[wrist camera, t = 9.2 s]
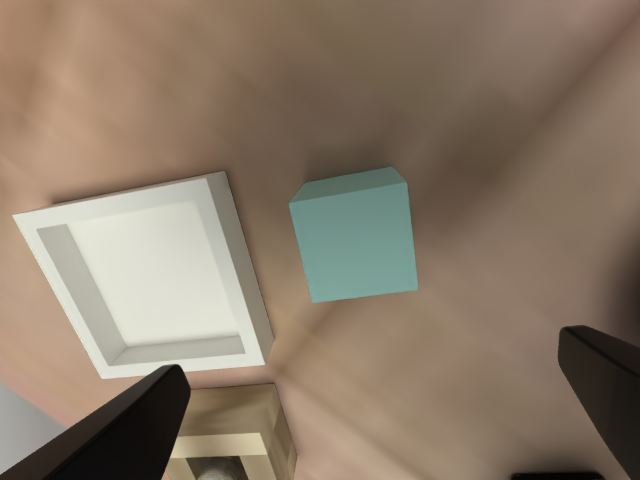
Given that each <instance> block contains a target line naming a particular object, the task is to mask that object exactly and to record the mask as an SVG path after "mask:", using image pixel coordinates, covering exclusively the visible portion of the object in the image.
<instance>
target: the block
mask: <svg viewBox="0 0 640 480" xmlns="http://www.w3.org/2000/svg"><path fill="white" fill-rule="evenodd" d="M288 205H289V209H290V213H291V217H292V221H293V225H294V229H295V233H296V238H297V242H298V246H299V250H300V254H301V258H302V262H303V267H304V271H305V275H306V279H307V283H308V287H309V291H310V295H311V300H312V303H316V302H325V301H333V300H341V299H349V298H357V297H365V296H373V295H381V294H390V293H398V292H406V291H414V290H419V289H418V280H417V270H416V261H415V252H414V243H413V234H412V224H411V215H410V206H409V197H408V187H407V182H406V181H405V179H404V178H403V177H402V176H401V175H400V174H399V173H398V172H397V171H396V170H395V168H394V167H393V166H391V167H386V168H380V169H375V170H370V171H365V172H359V173H354V174H349V175H343V176H338V177H333V178H328V179H322V180H317V181H312V182H306V183H304V184H303V186H302V187H301V188H300V189H299V191H298V192H297V193H296V194H295V196H294V197H293V198H292V199H291V201H290V202H289V203H288Z"/></svg>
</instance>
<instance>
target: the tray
mask: <svg viewBox="0 0 640 480" xmlns="http://www.w3.org/2000/svg"><path fill="white" fill-rule="evenodd" d="M12 216H13V218H14V219H15V221H16V223H17V225H18V227H19V229H20V230H21V232H22V234H23V236H24V238H25V240H26V241H27V243H28V245H29V247H30V249H31V251H32V252H33V254H34V256H35V258H36V260H37V261H38V263H39V265H40V267H41V269H42V271H43V272H44V274H45V276H46V278H47V280H48V282H49V283H50V285H51V287H52V289H53V291H54V293H55V294H56V296H57V298H58V300H59V302H60V303H61V305H62V307H63V309H64V311H65V313H66V314H67V316H68V318H69V320H70V322H71V324H72V325H73V327H74V329H75V331H76V333H77V335H78V336H79V338H80V340H81V342H82V344H83V345H84V347H85V349H86V351H87V353H88V355H89V356H90V358H91V360H92V362H93V364H94V366H95V367H96V369H97V371H98V373H99V375H100V377H101V378H102V379H107V378H118V377H130V376H142V375H149V374H150V373H152V372H153V371H155V370H156V369H158V368H159V367H161V366H163V365H168V364H179V365H180V366H181V367H182V369H183V371H184V372H188V371H199V370H211V369H222V368H234V367H245V366H257V365H265V364H266V361H267V358H268V355H269V353H270V350H271V347H272V344H273V341H274V336H273V333H272V330H271V326H270V323H269V319H268V316H267V313H266V309H265V306H264V302H263V299H262V296H261V292H260V289H259V285H258V282H257V279H256V275H255V272H254V268H253V265H252V261H251V258H250V255H249V251H248V248H247V244H246V241H245V238H244V234H243V231H242V227H241V224H240V221H239V217H238V214H237V210H236V207H235V204H234V200H233V197H232V193H231V190H230V187H229V183H228V180H227V176H226V173H225V171H221V172H216V173H211V174H206V175H201V176H195V177H190V178H185V179H180V180H175V181H170V182H165V183H160V184H155V185H149V186H144V187H139V188H134V189H129V190H124V191H119V192H114V193H108V194H103V195H98V196H93V197H88V198H83V199H78V200H73V201H68V202H62V203H57V204H52V205H48V206H45V207H41V208H37V209H34V210H30V211H26V212H23V213H19V214H15V215H12Z"/></svg>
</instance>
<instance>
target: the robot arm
mask: <svg viewBox="0 0 640 480" xmlns="http://www.w3.org/2000/svg"><path fill="white" fill-rule="evenodd" d="M558 362H559V366H560V368H561V370H562V372H563V373H564V375H565V377H566V378H567V380H568V382H569V384H570V385H571V387H572V389H573V390H574V392H575V394H576V395H577V397H578V399H579V400H580V402H581V404H582V406H583V407H584V409H585V411H586V412H587V414H588V416H589V417H590V419H591V421H592V423H593V424H594V426H595V428H596V429H597V431H598V433H599V434H600V436H601V437H602V439H603V441H604V442H605V444H606V445H607V447H608V448H609V449H610V451H611V452H612V454H613V455H614V457H615V458H616V460H617V461H618V462H619V464H620V465H621V466H622V468H623V469H624V471H625V472H626V473H627V475H628V476H629V478H630V479H631V480H640V347H637V346H635V345H632V344H630V343H627V342H625V341H623V340H620V339H618V338H615V337H613V336H610V335H608V334H605V333H603V332H600V331H598V330H595V329H593V328H590V327H588V326H585V325H577V326H566V327H563V328H562V329H561V330H560V333H559V346H558ZM190 396H191V388H190V385H189V383H188V380H187V378H186V376H185V374H184V371H183V369H182V367H181V366H180V365H179V364H168V365H163V366H161V367H159V368H158V369H156V370H155V371H153V372H152V373H150V374H149V375H147V376H146V377H144V378H143V379H141V380H140V381H139V382H137V383H136V384H134V385H133V386H131V387H130V388H128V389H127V390H125V391H124V392H122V393H121V394H119V395H118V396H116V397H115V398H113V399H112V400H110V401H109V402H107V403H106V404H104V405H103V406H101V407H100V408H98V409H97V410H96V411H94V412H93V413H91V414H90V415H88V416H87V417H85V418H84V419H82V420H81V421H79V422H78V423H76V424H75V425H73V426H72V427H70V428H69V429H67V430H66V431H65V432H63V433H61V434H60V435H58V436H57V437H56V438H54V439H53V440H51V441H50V442H48V443H47V444H45V445H44V446H42V447H41V448H39V449H38V450H36V451H35V452H33V453H32V454H31V455H29V456H27V457H26V458H24V459H23V460H21V461H20V462H18V463H17V464H15V465H14V466H13V467H11V468H10V469H8V470H7V471H5V472H4V473H2V474H1V475H0V480H161V479H162V477H163V474H164V472H165V469H166V467H167V465H168V462H169V459H170V457H171V454H172V451H173V448H174V445H175V442H176V439H177V436H178V433H179V430H180V427H181V424H182V421H183V418H184V415H185V412H186V409H187V406H188V403H189V400H190ZM511 480H605V478H604V477H603V476H602V475H600V474H568V475H526V476H514V477H512V478H511Z"/></svg>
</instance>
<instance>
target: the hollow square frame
mask: <svg viewBox="0 0 640 480" xmlns="http://www.w3.org/2000/svg"><path fill="white" fill-rule="evenodd" d="M215 456H240V459H241V461H242V464H243V465H242V468H241V471H240V475H239V478H238V480H293V479H294V473H295V467H296V461H297V454H296V451H295V448H294V445H293V441H292V438H291V435H290V432H289V429H288V425H287V422H286V419H285V416H284V413H283V409H282V406H281V403H280V400H279V397H278V393H277V390H276V387H275V384H262V385H249V386H236V387H223V388H209V389H196V390H191V396H190V400H189V403H188V406H187V409H186V412H185V415H184V418H183V421H182V424H181V427H180V430H179V433H178V436H177V439H176V442H175V445H174V448H173V451H172V454H171V457H170V459H169V462H168V465H167V467H166V469H165V471H166V473H167V475H168V477H169V478H170V480H198V478H199V476H200V473H201V471H202V469H203V466H204V464H205V462H206V460H207V457H215Z"/></svg>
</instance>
